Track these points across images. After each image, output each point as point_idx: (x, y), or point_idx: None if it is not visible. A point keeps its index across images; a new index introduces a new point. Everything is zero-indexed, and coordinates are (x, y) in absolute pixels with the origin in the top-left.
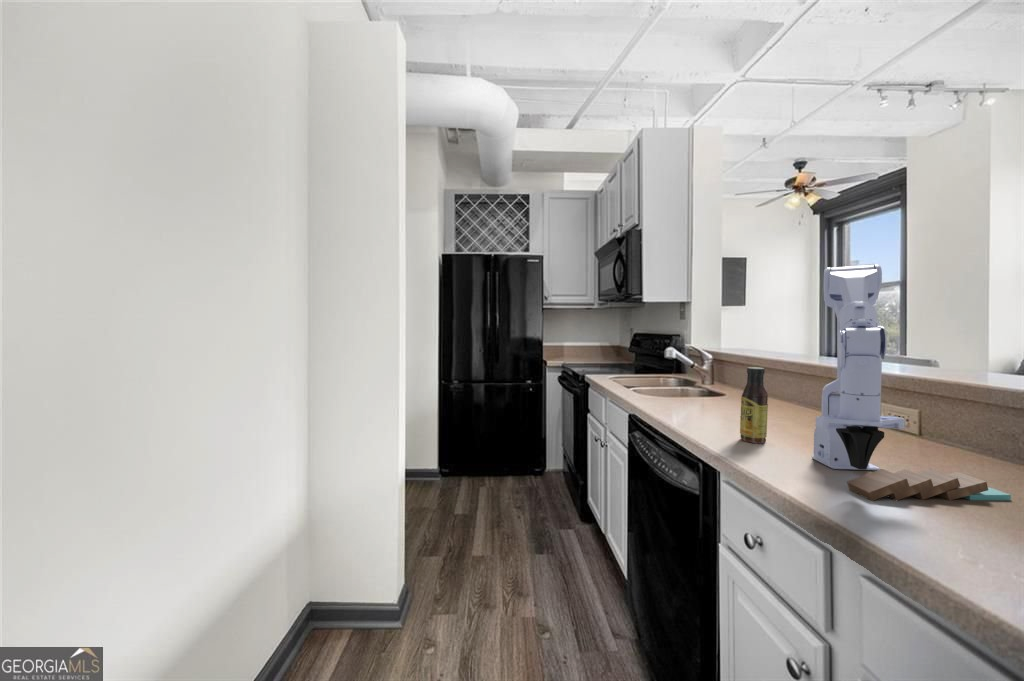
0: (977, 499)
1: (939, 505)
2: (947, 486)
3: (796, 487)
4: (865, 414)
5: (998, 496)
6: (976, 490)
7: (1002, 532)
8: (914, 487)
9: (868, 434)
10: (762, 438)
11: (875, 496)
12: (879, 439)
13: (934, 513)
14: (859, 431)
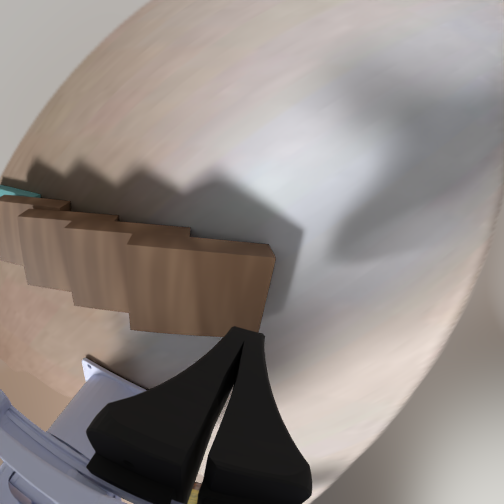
0: (30, 192)
1: (112, 177)
2: (48, 213)
3: (380, 364)
4: None
5: (5, 188)
6: (17, 198)
7: (138, 26)
8: (120, 229)
9: (225, 467)
10: (197, 489)
11: (256, 246)
12: (141, 406)
13: (174, 131)
14: (225, 495)
